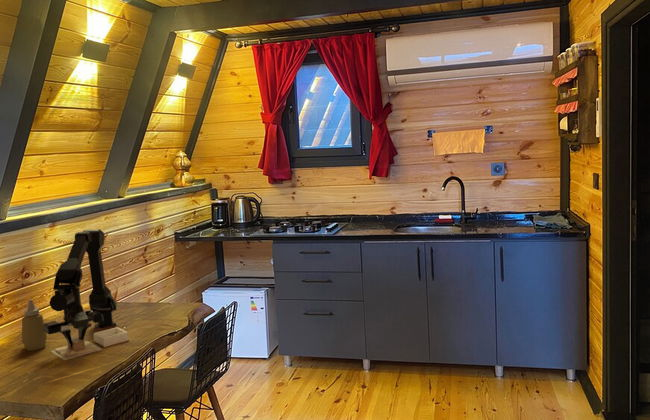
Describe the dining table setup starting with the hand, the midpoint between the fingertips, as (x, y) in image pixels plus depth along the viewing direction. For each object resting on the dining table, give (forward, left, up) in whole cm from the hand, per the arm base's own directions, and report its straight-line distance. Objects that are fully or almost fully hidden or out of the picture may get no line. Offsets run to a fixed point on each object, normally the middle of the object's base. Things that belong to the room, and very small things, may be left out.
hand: (76, 345), depth 202 cm
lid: (0, 0, -2) cm, 2 cm away
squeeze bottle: (-15, -9, -2) cm, 18 cm away
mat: (0, 0, -2) cm, 2 cm away
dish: (0, +12, -2) cm, 13 cm away
